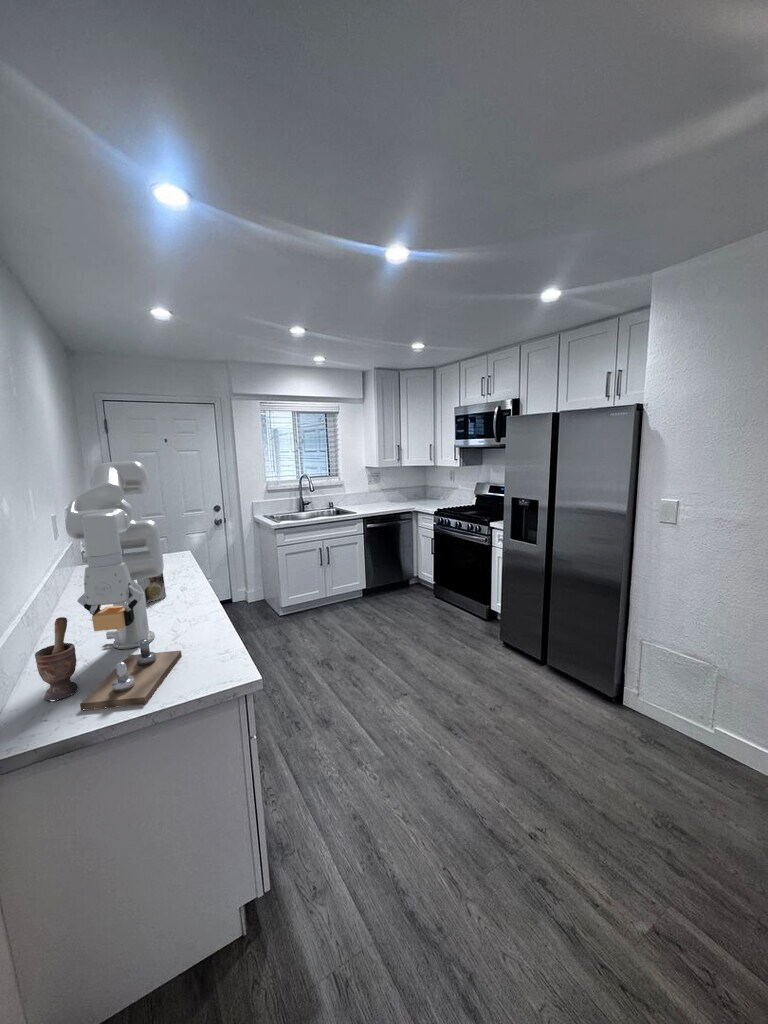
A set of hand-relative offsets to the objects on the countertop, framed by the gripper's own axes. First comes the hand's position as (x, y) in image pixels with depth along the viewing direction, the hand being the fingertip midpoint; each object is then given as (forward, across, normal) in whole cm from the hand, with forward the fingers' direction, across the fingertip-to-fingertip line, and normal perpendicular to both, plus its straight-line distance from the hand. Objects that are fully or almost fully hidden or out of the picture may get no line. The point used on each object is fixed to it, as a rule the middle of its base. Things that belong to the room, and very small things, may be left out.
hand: (114, 624), depth 113 cm
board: (+20, 0, +7) cm, 21 cm away
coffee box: (+20, -25, +80) cm, 86 cm away
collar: (0, 0, 0) cm, 0 cm away
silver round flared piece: (+18, 0, 0) cm, 18 cm away
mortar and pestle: (+20, -19, +5) cm, 28 cm away
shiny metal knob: (+18, 0, +14) cm, 23 cm away
